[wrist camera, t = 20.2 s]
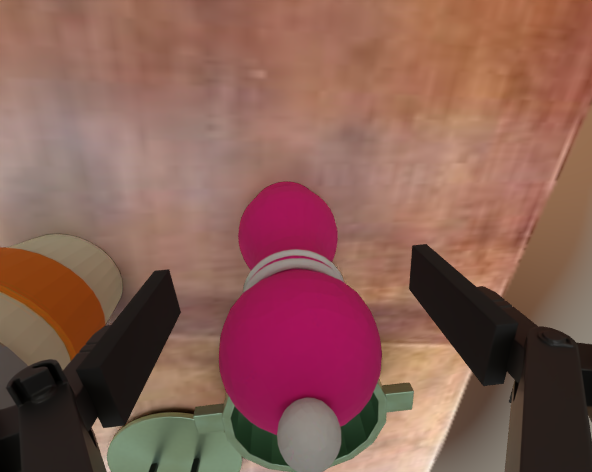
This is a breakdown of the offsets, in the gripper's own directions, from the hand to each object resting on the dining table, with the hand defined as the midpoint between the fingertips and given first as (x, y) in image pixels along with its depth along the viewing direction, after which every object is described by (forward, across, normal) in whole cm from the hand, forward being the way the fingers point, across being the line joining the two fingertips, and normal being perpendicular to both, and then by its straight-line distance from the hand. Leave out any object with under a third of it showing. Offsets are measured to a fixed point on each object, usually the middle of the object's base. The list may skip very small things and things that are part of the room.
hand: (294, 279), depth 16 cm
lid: (+10, -16, -29) cm, 35 cm away
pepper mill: (+11, 0, 0) cm, 11 cm away
